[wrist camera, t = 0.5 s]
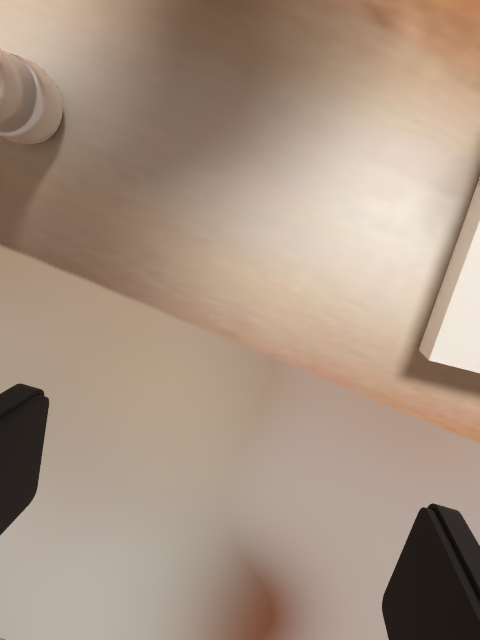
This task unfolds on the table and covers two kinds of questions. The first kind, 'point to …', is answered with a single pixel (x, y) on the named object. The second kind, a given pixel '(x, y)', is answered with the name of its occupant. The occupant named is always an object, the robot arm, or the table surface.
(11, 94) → the plastic bottle
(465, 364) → the socket board
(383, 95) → the table surface
